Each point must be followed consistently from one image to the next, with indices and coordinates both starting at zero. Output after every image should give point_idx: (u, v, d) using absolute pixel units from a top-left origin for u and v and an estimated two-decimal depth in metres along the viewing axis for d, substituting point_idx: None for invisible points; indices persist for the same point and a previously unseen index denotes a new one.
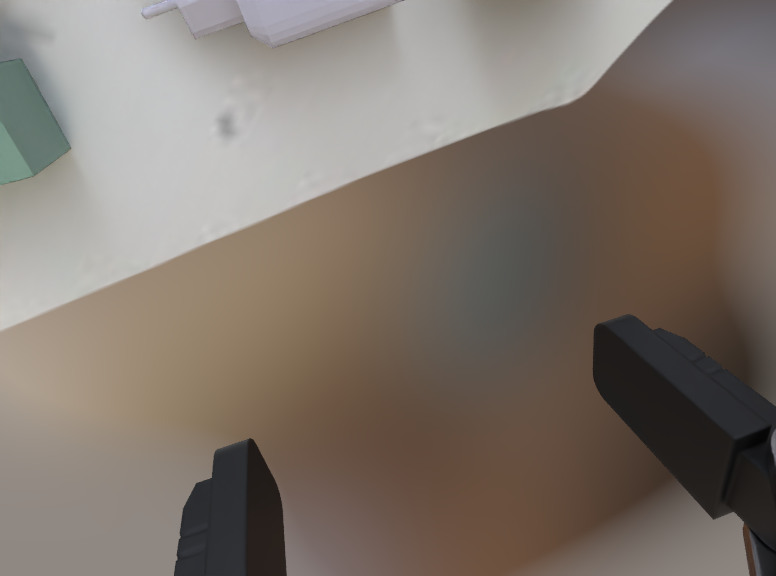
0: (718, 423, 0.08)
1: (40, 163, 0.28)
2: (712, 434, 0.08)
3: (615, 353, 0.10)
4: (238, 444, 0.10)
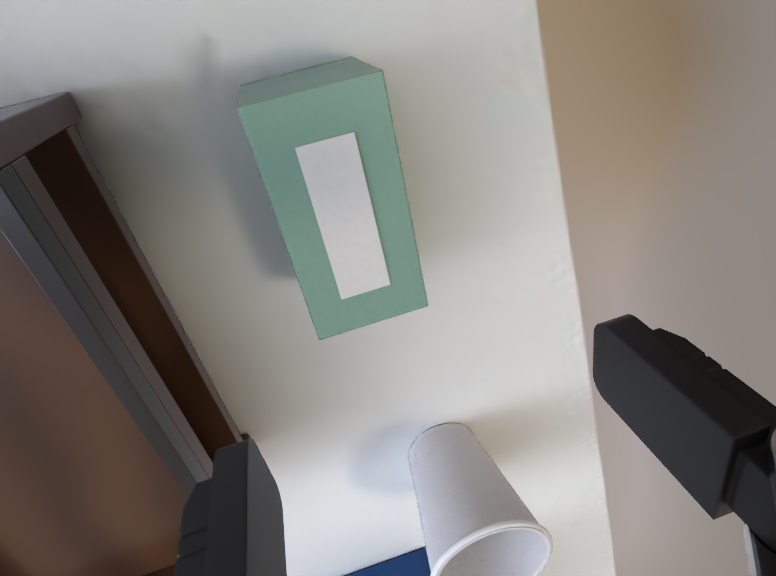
0: (718, 423, 0.08)
1: (366, 68, 0.19)
2: (712, 434, 0.08)
3: (615, 353, 0.10)
4: (238, 444, 0.10)
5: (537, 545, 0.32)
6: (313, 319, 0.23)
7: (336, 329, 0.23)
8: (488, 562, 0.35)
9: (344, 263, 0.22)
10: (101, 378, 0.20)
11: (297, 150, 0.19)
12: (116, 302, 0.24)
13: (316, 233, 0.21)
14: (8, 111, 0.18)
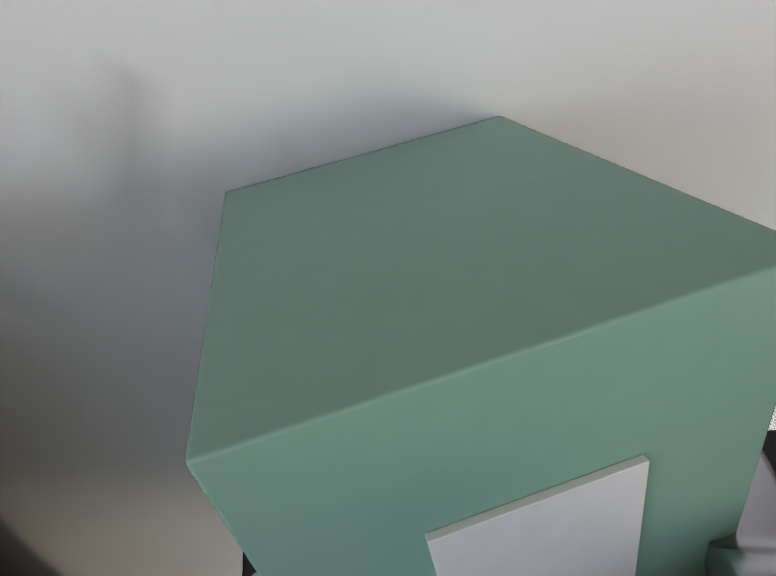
0: None
1: (669, 204, 0.05)
2: None
3: None
4: None
5: None
6: None
7: None
8: None
9: None
10: None
11: (432, 538, 0.05)
12: None
13: None
14: None
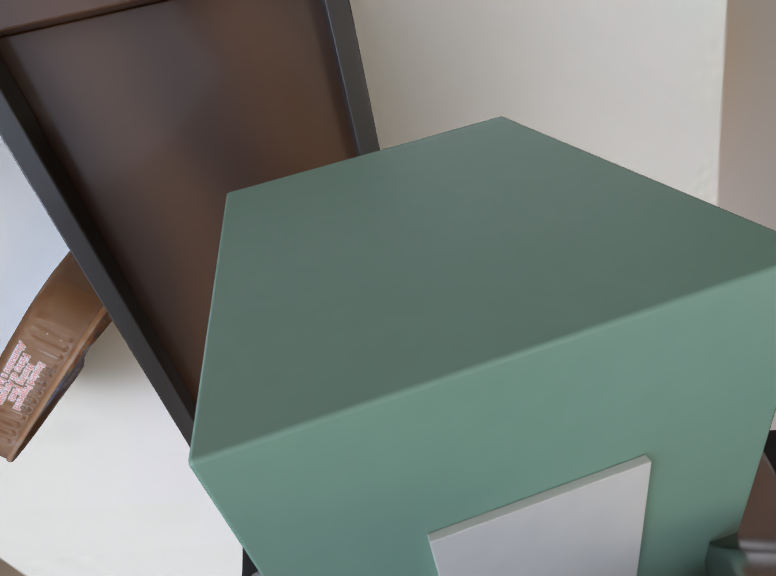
0: None
1: (671, 205, 0.05)
2: None
3: None
4: None
5: None
6: None
7: None
8: None
9: None
10: None
11: (434, 539, 0.05)
12: None
13: None
14: None
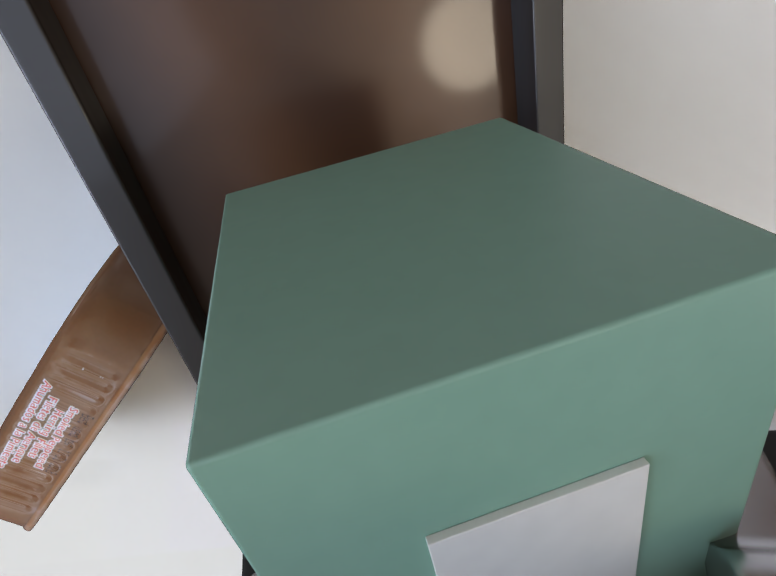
0: None
1: (669, 207, 0.05)
2: None
3: None
4: None
5: None
6: None
7: None
8: None
9: None
10: None
11: (432, 542, 0.05)
12: None
13: None
14: None
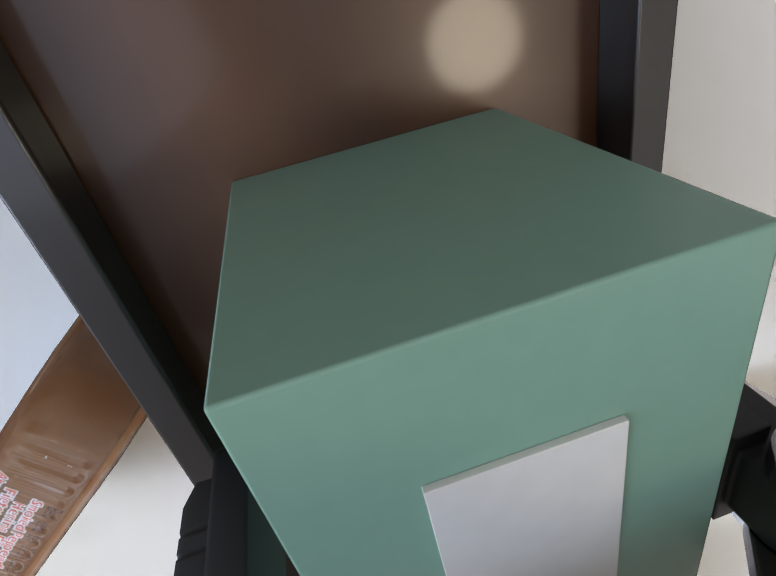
0: None
1: (649, 184, 0.06)
2: None
3: None
4: None
5: None
6: None
7: None
8: None
9: None
10: None
11: (428, 493, 0.05)
12: None
13: None
14: None
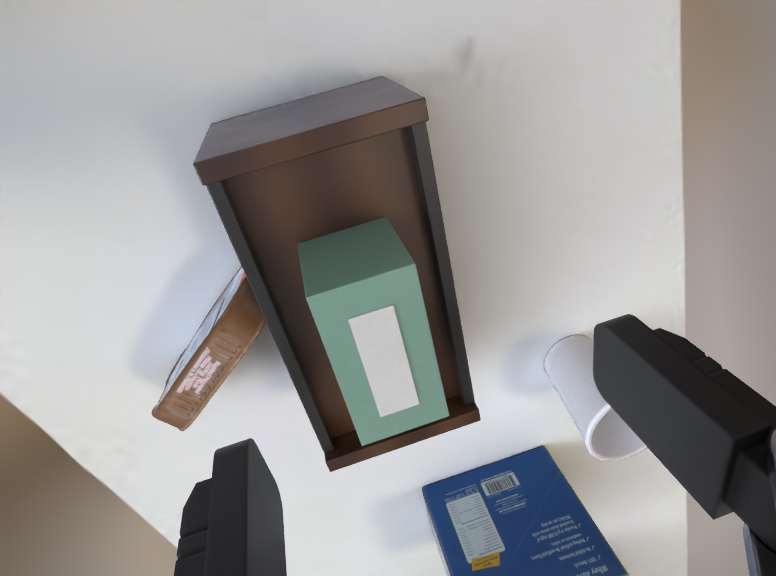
0: (718, 423, 0.08)
1: (401, 253, 0.25)
2: (712, 434, 0.08)
3: (615, 353, 0.10)
4: (238, 444, 0.10)
5: None
6: (358, 432, 0.29)
7: (376, 437, 0.29)
8: (617, 433, 0.46)
9: (383, 391, 0.27)
10: (420, 257, 0.31)
11: (349, 320, 0.25)
12: None
13: (362, 373, 0.27)
14: (379, 86, 0.30)
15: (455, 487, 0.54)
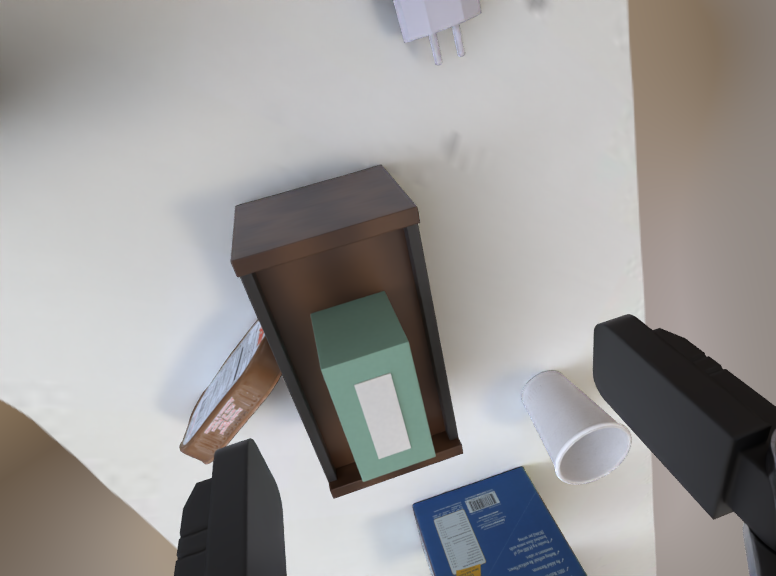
0: (718, 423, 0.08)
1: (397, 330, 0.31)
2: (712, 434, 0.08)
3: (615, 353, 0.10)
4: (238, 444, 0.10)
5: (620, 444, 0.50)
6: (360, 471, 0.34)
7: (374, 475, 0.35)
8: (584, 459, 0.52)
9: (381, 439, 0.33)
10: (412, 321, 0.37)
11: (355, 386, 0.31)
12: None
13: (364, 425, 0.32)
14: (378, 181, 0.36)
15: (442, 505, 0.60)
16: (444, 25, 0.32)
